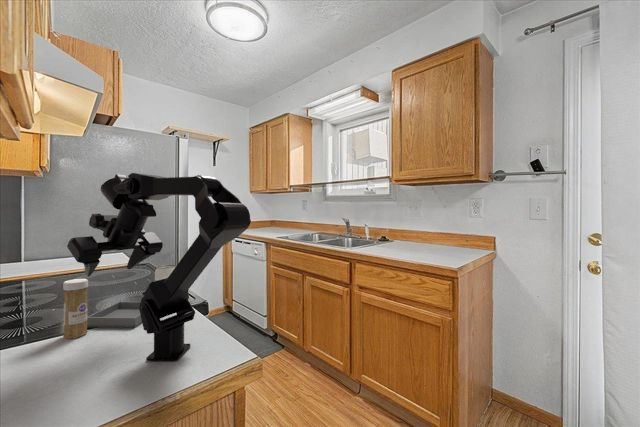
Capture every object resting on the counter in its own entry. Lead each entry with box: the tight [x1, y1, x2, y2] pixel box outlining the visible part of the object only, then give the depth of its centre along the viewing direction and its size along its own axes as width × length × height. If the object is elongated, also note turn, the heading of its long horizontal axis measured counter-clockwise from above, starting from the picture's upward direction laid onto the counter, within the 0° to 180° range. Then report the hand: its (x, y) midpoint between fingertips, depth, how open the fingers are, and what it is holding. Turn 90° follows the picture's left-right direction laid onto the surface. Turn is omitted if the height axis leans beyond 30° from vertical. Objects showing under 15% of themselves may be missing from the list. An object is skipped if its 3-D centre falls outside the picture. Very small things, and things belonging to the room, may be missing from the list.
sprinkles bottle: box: [62, 278, 89, 340], centre depth 69 cm, size 5×5×14 cm
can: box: [154, 264, 177, 281], centre depth 94 cm, size 6×6×12 cm
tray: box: [87, 301, 143, 329], centre depth 80 cm, size 13×13×2 cm
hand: (109, 271), depth 71 cm, fingers open, 9 cm apart
